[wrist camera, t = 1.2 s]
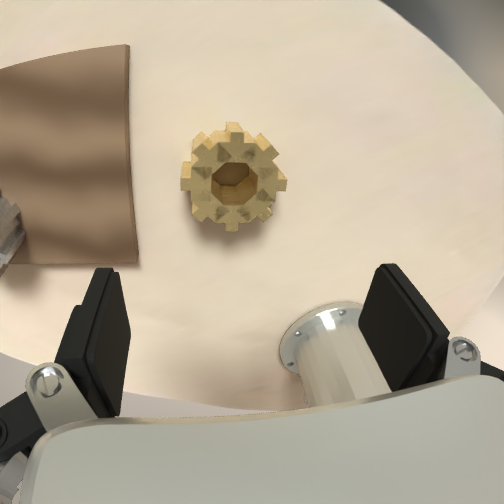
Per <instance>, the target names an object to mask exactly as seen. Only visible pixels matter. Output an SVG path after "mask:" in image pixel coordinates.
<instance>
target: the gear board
mask: <svg viewBox="0 0 504 504" xmlns="http://www.w3.org/2000/svg"><path fill="white" fill-rule="evenodd" d="M129 49H130V46H129V45H126V44H124V45H115V46H106V47H99V48H92V49H85V50H79V51H74V52H68V53H63V54H58V55H53V56H48V57H44V58H40V59H35V60H31V61H27V62H24V63H20V64H16V65H13V66H9V67H6V68H3V69H0V189H1V190H0V196H1V197H4V198H7V200H8V202H9V204H10V205H13V204H14V203H16V204H17V206H18V207H19V209H20V212H19V213H18V214H17V215H16V216H17V217H18V219H19V221H20V227H19V229H21V230H23V231H25V240H24V241H23V242H22V244H21V245H20V246H19V248H18V249H17V250H16V252H17V254H16V255H15V257H14V258H13V259H12V261H11V262H10V264H67V263H136V262H137V258H138V254H139V253H138V245H137V236H136V227H135V217H134V207H133V195H132V182H131V167H130V147H129V110H128V84H129Z"/></svg>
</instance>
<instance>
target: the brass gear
mask: <svg viewBox="0 0 504 504" xmlns="http://www.w3.org/2000/svg"><path fill="white" fill-rule="evenodd" d="M278 155H279V153H278V152H277V151H276V150H275V148H274V147H273V146H272V145H271V144H270V143H269V142H268V140H267V139H266V138H265V137H264V136H263V135H262V134H261V133H260V134H259V135H258V136H256V137H255V138H253V137H252V136H251V135H250V134H249V133H248V132H247V131H243V130H242V128H241V127H240V125H239V124H238V123H236V122H226V131H214V132H213V133H212V134H211V135H210V136H209V137H207V136H206V135H205V134H204V133H203V132H200V133H199V134H198V135H197V136H196V137H195V138H194V139H193V147H192V159H191V162H183V166H182V172H181V191H191V202H192V215H193V216H194V217H195V218H196V219H197V220H199V221H200V222H202V221H203V220H204V219H205V218H206V217H207V216H208V217H209V218H210V219H211V220H212V221H214V222H215V223H225V229H226V231H238V223H250V222H251V221H252V220H253V219H254V218H256V217H257V216H258V217H259V218H260V219H261V220H262V221H263V222H264V221H265V220H267V219H268V218H269V217H270V216H271V215H273V214H272V212H271V210H270V208H269V206H270V205H271V204H272V203H274V202H275V197H276V191H286V185H287V179H286V177H285V176H284V175H283V173H282V172H281V170H280V169H279V168H278V166H277V165H276V164H275V163H274V162H273V159H274V158H275V157H276V156H278ZM226 162H241V163H246V164H247V165H248V166H249V175H248V176H247V177H246V178H245V179H244V180H242V181H241V182H240V183H239V184H238V185H237V186H220V185H219V184H218V183H217V182H216V181H215V180H214V179H213V178H212V177H211V175H212V174H213V173H215V172H216V171H217V170H218V169H219V168H220V167H221V166H222V165H223V164H224V163H226Z"/></svg>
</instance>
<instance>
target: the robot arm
mask: <svg viewBox="0 0 504 504" xmlns="http://www.w3.org/2000/svg"><path fill="white" fill-rule="evenodd" d="M449 334H450V332H449V331H448V329H447V328H446V327H445V325H444V324H443V323H442V321H441V320H440V319H439V317H438V316H437V315H436V313H435V312H434V311H433V309H432V308H431V307H430V305H429V304H428V303H427V302H426V300H425V299H424V298H423V296H422V295H421V294H420V293H419V291H418V290H417V289H416V288H415V286H414V285H413V284H412V283H411V281H410V280H409V279H408V278H407V276H406V275H405V274H404V273H403V272H402V270H401V269H400V268H399V267H398V265H396V264H394V263H392V264H381V265H380V266H379V268H377V269H376V271H375V274H374V277H373V280H372V283H371V286H370V289H369V291H368V294H367V297H366V300H365V303H364V306H363V305H360V304H358V303H351V302H340V303H334V304H329V305H326V306H323V307H320V308H318V309H315V310H313V311H311V312H309V313H308V314H306V315H304V316H303V317H301V318H300V319H299V320H298V321H296V322H295V323H294V324H293V325H292V326H291V327H290V328H289V329H288V330H287V332H286V333H285V335H284V337H283V338H282V341H281V344H280V356H281V360H282V362H283V365H284V366H285V367H286V368H287V369H288V370H289V371H291V372H293V373H295V374H298V375H300V377H301V380H302V384H303V387H304V390H305V395H304V398H303V399H304V402H305V403H307V404H309V406H310V408H304V409H296V410H288V411H279V412H271V413H261V414H248V415H236V416H217V417H185V418H184V417H183V418H140V417H139V418H115V416H119V415H120V408H121V400H122V393H123V385H124V378H125V371H126V364H127V358H128V351H129V345H130V339H131V330H130V325H129V320H128V316H127V311H126V306H125V302H124V297H123V291H122V286H121V281H120V275H119V272H114V270H113V268H96V270H95V272H94V275H93V277H92V279H91V282H90V284H89V287H88V289H87V292H86V294H85V297H84V300H83V302H82V305H76V306H75V307H74V309H73V311H72V313H71V316H70V319H69V321H68V324H67V327H66V329H65V332H64V335H63V338H62V340H61V343H60V346H59V349H58V352H57V355H56V358H55V361H54V363H51V362H50V363H43V364H41V365H38V366H37V367H35V368H34V369H33V370H32V371H31V372H30V373H29V374H28V376H27V379H26V385H25V387H26V392H24V393H23V394H21V395H19V396H18V397H16V398H15V399H13V400H12V401H10V402H8V403H7V404H5V405H3V406H2V407H1V408H0V504H12V499H13V497H14V495H15V494H16V492H17V491H18V490H19V489H18V488H17V486H18V485H19V483H20V482H21V481H22V480H23V481H22V486H21V492H20V500H19V504H504V371H502V370H500V369H498V368H496V367H493V366H491V365H489V364H487V363H485V362H483V361H481V358H480V357H481V356H480V351H479V350H478V348H477V346H476V345H475V344H474V343H473V342H472V341H470V340H468V339H466V338H463V337H454V338H452V339H451V340H450V341H449V340H448V338H447V337H448V336H449Z"/></svg>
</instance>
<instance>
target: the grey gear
mask: <svg viewBox="0 0 504 504" xmlns="http://www.w3.org/2000/svg"><path fill="white" fill-rule="evenodd" d="M0 190H1V189H0ZM19 212H20V209H19V207H18V206H17V204H16V203H14V204H13V205H10V204H9V202H8V200H7V198H4V197H1V196H0V277H1V275H2V274H3V272H4V271H5V269H6V268H7V267H8V265H9V264H10V262H11V261H12V259H13V258H14V257H15V255H16V254H17V252H16V250H17V249H18V248H19V246H20V245H21V244H22V242H23V241H24V240H25V231H23V230H21V229H19V227H20V221H19V219H18V217H17V216H16V215H17V214H18V213H19Z"/></svg>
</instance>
